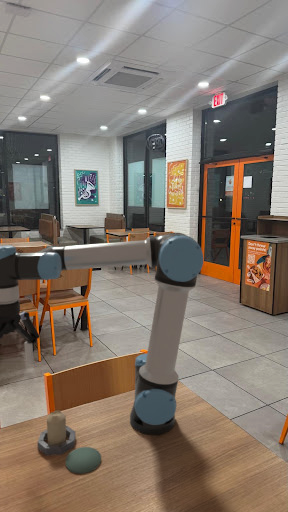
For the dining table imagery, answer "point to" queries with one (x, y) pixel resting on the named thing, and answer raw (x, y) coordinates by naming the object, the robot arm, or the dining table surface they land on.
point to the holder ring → (56, 448)
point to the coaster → (83, 460)
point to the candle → (56, 428)
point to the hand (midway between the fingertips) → (10, 372)
